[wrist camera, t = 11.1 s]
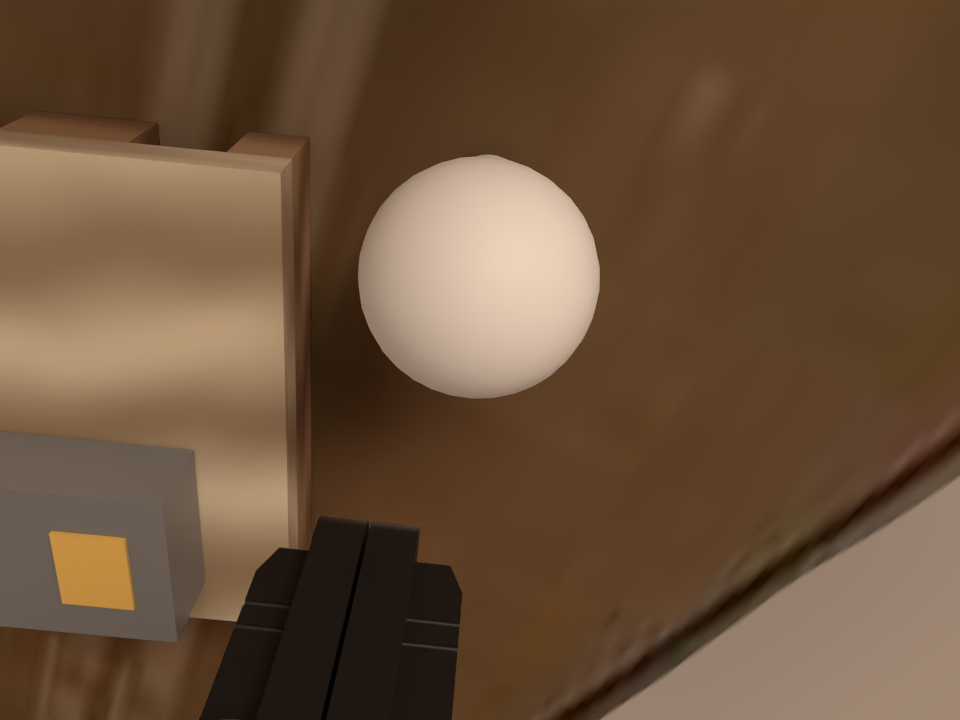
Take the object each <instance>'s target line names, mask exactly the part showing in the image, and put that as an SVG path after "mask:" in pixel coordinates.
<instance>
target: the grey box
mask: <svg viewBox="0 0 960 720" xmlns="http://www.w3.org/2000/svg"><path fill="white" fill-rule="evenodd" d="M204 583H205V577H204V565H203V553H202V541H201V529H200V517H199V505H198V493H197V481H196V469H195V457H194V450H188V449H177V448H167V447H156V446H146V445H136V444H125V443H115V442H104V441H94V440H83V439H73V438H62V437H52V436H41V435H31V434H20V433H10V432H0V626H3V627H14V628H25V629H35V630H46V631H57V632H67V633H78V634H89V635H99V636H110V637H121V638H131V639H142V640H152V641H163V642H174V643H178V641H179V638H180V636H181V634H182V632H183V630H184V627H185V625H186V623H187V621H188V618H189V616H190V614H191V612H192V610H193V607H194V605H195V603H196V601H197V598H198V596H199V594H200V592H201V590H202V587H203V585H204Z"/></svg>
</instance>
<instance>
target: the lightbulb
mask: <svg viewBox="0 0 960 720" xmlns="http://www.w3.org/2000/svg"><path fill="white" fill-rule="evenodd" d="M599 282H600V267H599V262H598V258H597V253H596V248H595V243H594V239H593V236H592V234H591V231H590V229H589V227H588V225H587V222H586V220H585V218H584V216H583V215H582V213H581V212H580V211H579V209H578V208H577V207H576V205H575V204H574V202H573V201H572V200H571V198H570V197H569V196H567V195H566V194H565V193H564V192H563V191H562V190H561V189H560V188H559V187H558V186H556V185H555V184H554V183H553V182H552V181H551V180H549V179H548V178H546V177H545V176H543V175H541V174H539V173H538V172H536V171H534V170H533V169H531V168H529V167H527V166H524V165H521V164H518V163H516V162H513V161H510V160H507V159H505V158H502V157H499V156H496V155H479V156H475V157H462V158H457V159H453V160H449V161H445V162H441V163H439V164H437V165H434V166H432V167H430V168H428V169H426V170H424V171H422V172H420V173H418V174H416V175H414V176H412V177H411V178H410V179H408V180H407V181H406V182H404V183H403V184H402V185H400V186H399V187H398V188H396V189H395V190H394V191H393V192H392V194H391V195H390V196H389V197H388V198H387V199H386V201H385V202H384V203H383V204H382V205H381V206H380V208H379V210H378V211H377V213H376V215H375V217H374V219H373V220H372V222H371V224H370V226H369V228H368V230H367V233H366V235H365V239H364V242H363V245H362V249H361V252H360V256H359V269H358V284H359V292H360V300H361V307H362V310H363V313H364V315H365V318H366V321H367V324H368V327H369V329H370V331H371V332H372V334H373V336H374V338H375V339H376V341H377V343H378V344H379V346H380V348H381V349H382V351H383V352H384V353H385V355H386V356H387V357H388V358H389V359H390V360H391V361H392V362H393V363H394V365H395V366H396V367H397V368H399V369H400V370H401V371H403V372H404V373H405V374H406V375H408V376H409V377H410V378H412V379H413V380H415V381H417V382H419V383H421V384H423V385H424V386H426V387H428V388H430V389H432V390H436V391H439V392H442V393H445V394H448V395H451V396H458V397H465V398H495V397H500V396H505V395H510V394H515V393H517V392H520V391H522V390H525V389H527V388H530V387H532V386H534V385H536V384H538V383H539V382H541V381H542V380H544V379H546V378H547V377H549V376H551V375H552V374H553V373H554V372H555V371H556V370H557V369H558V368H559V367H560V366H562V365H563V364H564V363H565V362H566V361H567V360H568V358H569V357H570V356H571V355H572V353H573V352H574V351H575V349H576V348H577V347H578V345H579V344H580V342H581V341H582V340H583V338H584V336H585V334H586V332H587V330H588V327H589V325H590V323H591V321H592V318H593V315H594V311H595V307H596V303H597V298H598V294H599Z"/></svg>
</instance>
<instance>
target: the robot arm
mask: <svg viewBox="0 0 960 720" xmlns="http://www.w3.org/2000/svg"><path fill="white" fill-rule="evenodd" d="M419 533H420V527H415V526H406V525H397V524H388V523H379V522H372V523H371V526H370V530H369V522H368V521H359V520H350V519H341V518H332V517H323V516H321V517H320V518H319V520H318V522H317V525H316V528H315V531H314V534H313V538H312V541H311V544H310V547H309V551H308V550H299V549H290V548H281V547H279V548H278V549H277V550H276V551H275V552H274V553H273V554H272V555H271V556H270V557H269V558H268V559H267V560H266V561H265V562H264V563H263V564H262V565H261V566H260V567H259V568H258V569H257V570H256V571H255V574H254V577H253V579H252V582H251V585H250V587H249V590H248V593H247V595H246V598H245V603H244V605H243V606H242V609H241V611H240V614H239V617H238V619H237V622H236V628H235V629H234V630H233V632H232V635H231V638H230V640H229V643H228V646H227V648H226V651H225V654H224V656H223V659H222V662H221V664H220V667H219V670H218V672H217V675H216V678H215V680H214V683H213V686H212V688H211V691H210V693H209V696H208V699H207V701H206V704H205V707H204V709H203V712H202V715H201V717H200V719H199V720H452V709H453V697H454V685H455V673H456V661H457V648H458V637H459V624H460V613H461V601H462V592H461V589H460V587H459V585H458V582H457V580H456V578H455V576H454V573H453V571H452V569H451V566H446V565H437V564H428V563H419V562H417V555H418V544H419Z"/></svg>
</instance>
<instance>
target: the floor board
mask: <svg viewBox="0 0 960 720" xmlns="http://www.w3.org/2000/svg"><path fill="white" fill-rule="evenodd" d="M0 432H10V433H20V434H31V435H41V436H52V437H62V438H73V439H83V440H94V441H104V442H115V443H125V444H136V445H146V446H156V447H167V448H177V449H188V450H194V457H195V469H196V481H197V493H198V505H199V517H200V529H201V541H202V553H203V565H204V577H205V583H204V585H203V587H202V590H201V592H200V594H199V596H198V598H197V601H196V603H195V605H194V607H193V610H192V612H191V614H190V616H189V617H193V618H204V619H214V620H225V621H236V622H237V619H238V617H239V614H240V611H241V609H242V606H243V605H244V603H245V598H246V595H247V593H248V590H249V587H250V585H251V582H252V579H253V577H254V574H255V571H256V570H257V569H258V568H259V567H260V566H261V565H262V564H263V563H264V562H265V561H266V560H267V559H268V558H269V557H270V556H271V555H272V554H273V553H274V552H275V551H276V550H277V549H278V548H279V547H281V548H290V549H299V550H308V551H309V547H310V544H311V541H312V484H311V307H310V138H308V137H298V136H288V135H278V134H267V133H257V132H248V133H247V134H246V135H245V136H244V137H243V138H241V139H240V140H239V141H238V142H237V143H236V144H235V145H234V146H233V147H232V148H231V149H229V150H228V151H227V152H219V151H209V150H199V149H188V148H178V147H168V146H160V143H159V132H158V123H155V122H145V121H135V120H125V119H115V118H104V117H94V116H84V115H74V114H64V113H53V112H43V111H34V112H32V113H30V114H28V115H26V116H24V117H22V118H20V119H17V120H15V121H13V122H11V123H9V124H7V125H5V126H3V127H1V128H0Z"/></svg>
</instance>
